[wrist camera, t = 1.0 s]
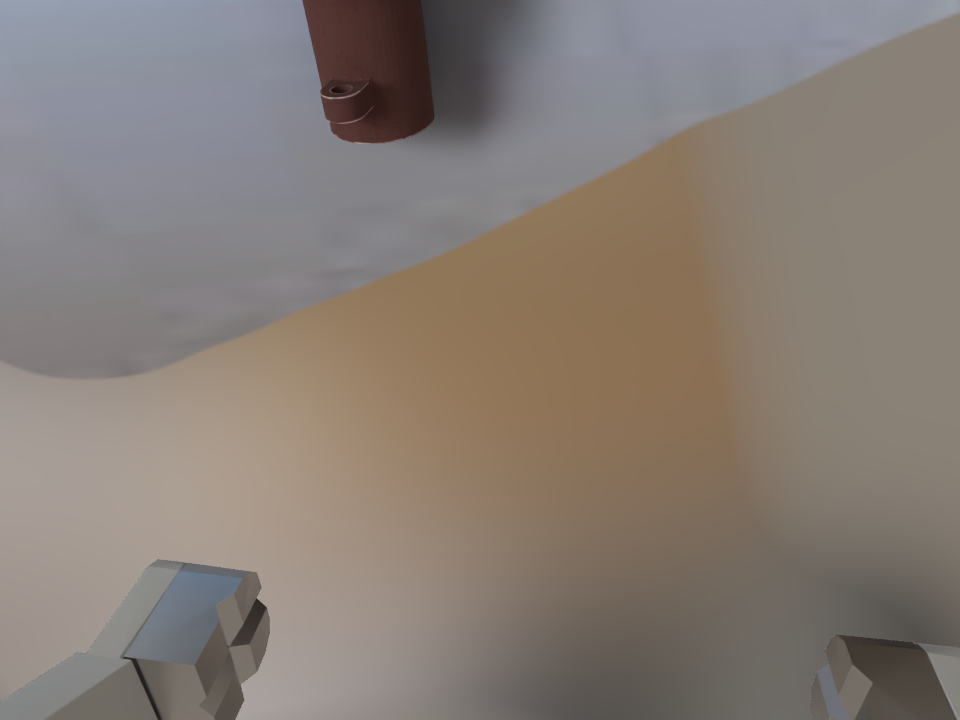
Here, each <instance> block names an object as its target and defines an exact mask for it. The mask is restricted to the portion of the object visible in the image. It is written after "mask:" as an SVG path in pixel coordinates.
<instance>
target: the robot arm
mask: <svg viewBox="0 0 960 720" xmlns="http://www.w3.org/2000/svg"><path fill="white" fill-rule="evenodd" d="M260 590H261V584H260V581H259V578H258V575H257V573H256V572H250V571H242V570H235V569H228V568H221V567H213V566H206V565H199V564H192V563H184V562H175V561H167V560H159V559H158V560H156V561H155V562H154V563H152V564H151V565H149V566H148V567H147V568H146V569H145V571H144V572H143V573H142V575H141V576H140V578H139V579H138V580H137V582H136V583H135V585H134V586H133V588H132V589H131V590H130V592H129V593H128V595H127V596H126V597H125V599H124V600H123V602H122V603H121V605H120V606H119V607H118V609H117V610H116V612H115V613H114V615H113V616H112V617H111V619H110V620H109V622H108V623H107V624H106V626H105V627H104V629H103V630H102V632H101V633H100V635H99V636H98V637H97V639H96V640H95V641H94V643H93V644H92V646H91V647H90V649H89V650H88V652H87V653H75V654H73V655H72V656H70V657H69V658H67V659H66V660H64V661H62V662H61V663H59V664H58V665H56V666H55V667H53V668H51V669H50V670H48V671H47V672H45V673H44V674H42V675H40V676H39V677H37V678H36V679H34V680H33V681H31V682H30V683H28V684H26V685H25V686H23V687H22V688H20V689H18V690H17V691H15V692H14V693H12V694H11V695H9V696H7V697H6V698H4V699H3V700H1V701H0V720H235V719H236V717H237V714H238V712H239V710H240V708H241V706H242V704H243V702H244V697H243V693H242V688H241V684H242V683H243V682H244V681H245V680H247V679H248V678H250V677H251V676H252V675H253V674H255V673H256V672H257V671H258V668H259V666H260V664H261V661H262V659H263V657H264V654H265V651H266V647H267V642H268V638H269V633H270V628H269V627H270V622H269V621H270V620H269V614H268V611H267V607H266V606H265V605H263V604H262V603H261V602H260V601H259V600H258V599H257V596H258V594H259V592H260ZM825 653H826V657H827V660H828V663H829V665H828V666H826V667H824V668H822V669H820V670H819V671H817V672H816V675H815V678H814V681H813V684H812V687H811V703H810V709H811V716H812V720H960V648H955V647H947V646H937V645H927V644H914V643H913V642H908V641H898V640H887V639H877V638H866V637H855V636H846V635H835V636H834V637H832V638H831V639H830V641H829V643H828V645H827V647H826V650H825Z"/></svg>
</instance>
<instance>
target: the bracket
mask: <svg viewBox="0 0 960 720" xmlns="http://www.w3.org/2000/svg"><path fill="white" fill-rule="evenodd" d="M303 5H304V9H305V14H306V18H307V23H308V27H309V32H310V36H311V41H312V45H313V50H314V54H315V59H316V63H317V68H318V72H319V77H320V81H321V86H322V89H321V90H320V94H321V99H322V103H323V108H324V112H325V116H326V120H327V121H329V122H330V126H331V130H332V132H333V134H334V135H335V136H337V137H338V138H340V139H342V140H345V141H348V142H353V143H360V144H379V143H388V142H393V141H398V140H402V139H405V138H408V137H411V136H413V135H416V134H418V133H420V132H421V131H423V130H425V129H426V128H427V127H428V126H429V125H430V124H431V123H432V122H433V119H434V109H433V101H432V92H431V84H430V75H429V66H428V58H427V49H426V40H425V32H424V23H423V15H422V6H421V0H303Z"/></svg>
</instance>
